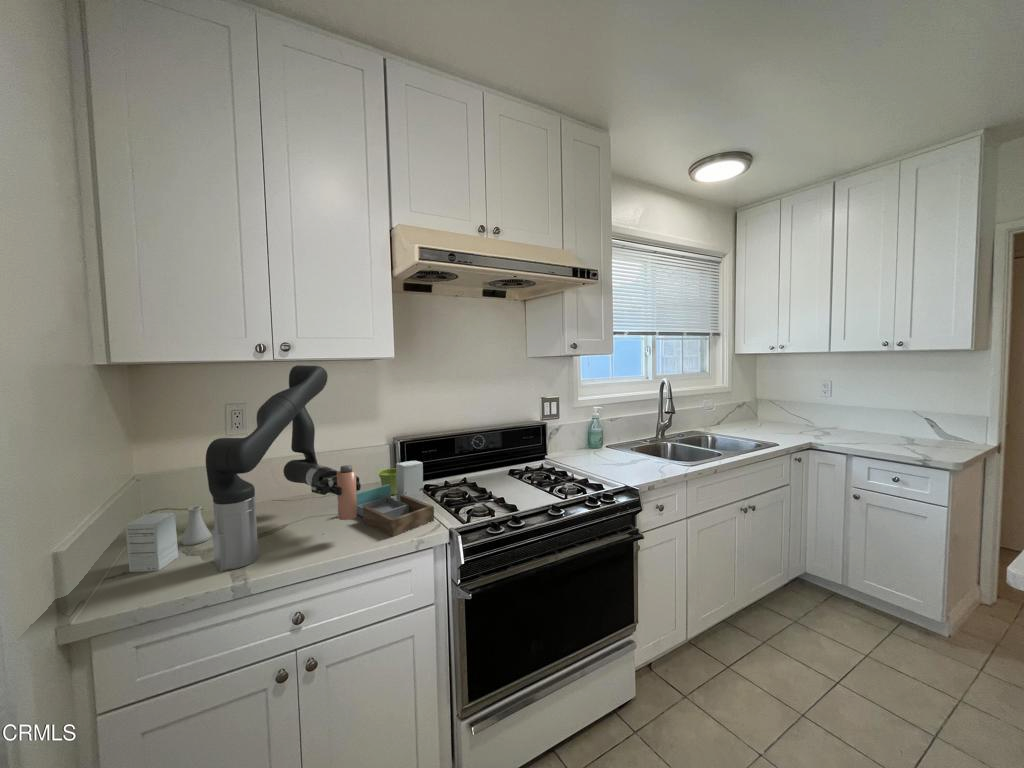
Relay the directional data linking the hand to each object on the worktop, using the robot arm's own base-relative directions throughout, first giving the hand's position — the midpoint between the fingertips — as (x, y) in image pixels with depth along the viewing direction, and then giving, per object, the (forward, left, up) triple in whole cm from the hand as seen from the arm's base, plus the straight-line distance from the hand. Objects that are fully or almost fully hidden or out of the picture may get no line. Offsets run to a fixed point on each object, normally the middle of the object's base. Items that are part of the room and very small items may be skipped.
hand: (349, 489), depth 122 cm
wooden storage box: (+17, +2, -16) cm, 23 cm away
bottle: (0, +1, -9) cm, 9 cm away
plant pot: (+31, +28, -16) cm, 45 cm away
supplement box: (-41, +27, -16) cm, 51 cm away
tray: (+17, +12, -15) cm, 26 cm away
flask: (-30, +36, -16) cm, 49 cm away
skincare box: (+30, +14, -16) cm, 37 cm away
